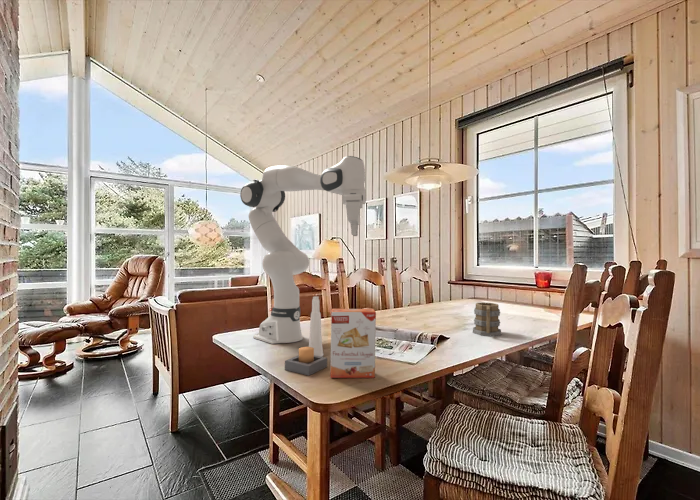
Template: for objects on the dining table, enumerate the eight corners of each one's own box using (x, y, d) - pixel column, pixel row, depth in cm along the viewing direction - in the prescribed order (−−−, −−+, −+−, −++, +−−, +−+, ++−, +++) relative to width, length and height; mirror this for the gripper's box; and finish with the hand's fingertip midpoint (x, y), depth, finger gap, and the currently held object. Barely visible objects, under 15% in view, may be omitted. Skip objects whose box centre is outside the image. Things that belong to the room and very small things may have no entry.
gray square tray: (284, 369, 117) (284, 360, 117) (303, 361, 126) (304, 353, 126) (308, 375, 112) (308, 366, 112) (327, 366, 120) (327, 357, 120)
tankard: (473, 329, 179) (473, 299, 179) (500, 331, 174) (501, 300, 174) (471, 338, 161) (471, 305, 161) (501, 341, 156) (502, 307, 156)
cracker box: (330, 379, 109) (330, 311, 109) (330, 372, 115) (330, 307, 115) (375, 378, 110) (376, 311, 110) (373, 371, 116) (373, 307, 116)
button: (295, 361, 118) (295, 349, 118) (305, 357, 122) (305, 345, 122) (307, 364, 115) (307, 351, 115) (316, 360, 120) (316, 348, 120)
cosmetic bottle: (315, 352, 137) (316, 295, 137) (326, 355, 133) (327, 296, 133) (303, 355, 133) (304, 296, 133) (315, 358, 129) (315, 298, 129)
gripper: (347, 203, 145) (348, 236, 145) (343, 195, 125) (344, 234, 125) (363, 202, 145) (363, 236, 145) (361, 194, 124) (362, 234, 124)
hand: (354, 235), depth 135 cm, fingers open, 8 cm apart
